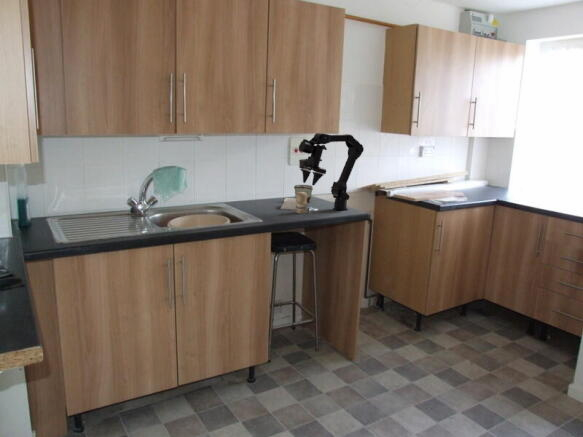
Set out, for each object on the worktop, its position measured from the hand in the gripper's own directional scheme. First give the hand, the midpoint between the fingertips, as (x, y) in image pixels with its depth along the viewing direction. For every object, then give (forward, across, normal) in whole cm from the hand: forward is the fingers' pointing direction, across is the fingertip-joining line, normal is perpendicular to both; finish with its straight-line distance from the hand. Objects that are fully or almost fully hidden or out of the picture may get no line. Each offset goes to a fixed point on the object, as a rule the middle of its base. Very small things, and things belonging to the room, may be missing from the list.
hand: (308, 184), depth 262 cm
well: (+16, -17, +4) cm, 23 cm away
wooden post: (+16, -3, +2) cm, 17 cm away
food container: (+11, -30, +20) cm, 38 cm away
